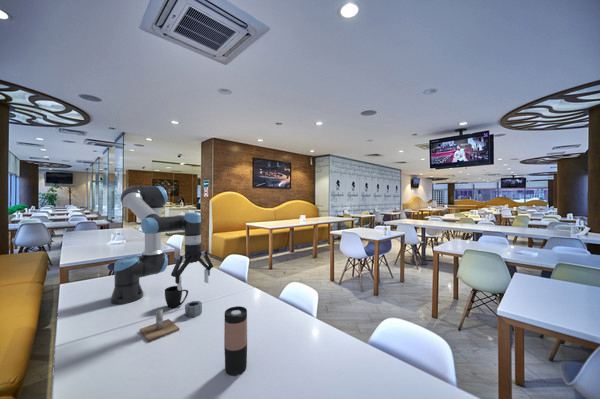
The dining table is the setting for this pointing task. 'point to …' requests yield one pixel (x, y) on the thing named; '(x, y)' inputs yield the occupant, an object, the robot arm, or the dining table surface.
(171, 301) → the mug
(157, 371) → the dining table surface
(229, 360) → the travel mug
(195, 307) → the ring
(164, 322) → the shaft stand
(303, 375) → the dining table surface
